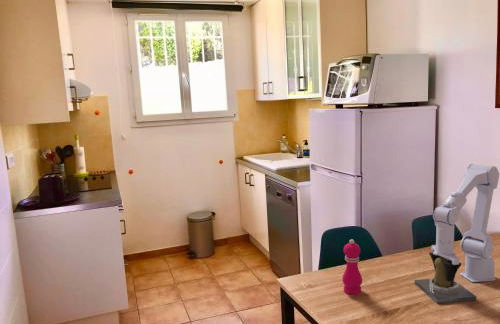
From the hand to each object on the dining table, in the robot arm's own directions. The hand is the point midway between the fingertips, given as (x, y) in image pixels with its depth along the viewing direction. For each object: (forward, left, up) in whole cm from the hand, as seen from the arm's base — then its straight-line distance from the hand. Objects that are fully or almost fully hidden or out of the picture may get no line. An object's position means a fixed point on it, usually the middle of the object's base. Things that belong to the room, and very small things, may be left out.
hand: (444, 276), depth 144 cm
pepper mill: (+32, -6, -6) cm, 33 cm away
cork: (+1, 0, -5) cm, 5 cm away
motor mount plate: (0, 0, -6) cm, 6 cm away
